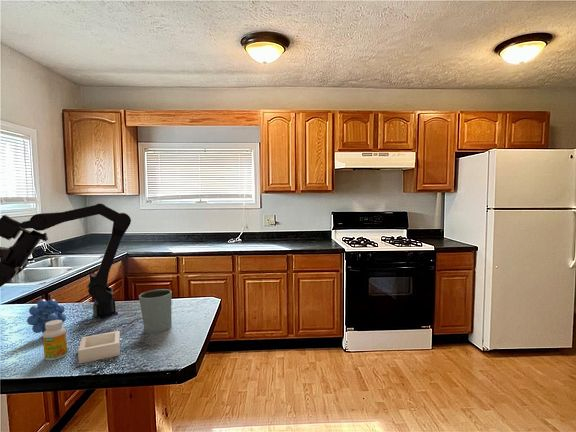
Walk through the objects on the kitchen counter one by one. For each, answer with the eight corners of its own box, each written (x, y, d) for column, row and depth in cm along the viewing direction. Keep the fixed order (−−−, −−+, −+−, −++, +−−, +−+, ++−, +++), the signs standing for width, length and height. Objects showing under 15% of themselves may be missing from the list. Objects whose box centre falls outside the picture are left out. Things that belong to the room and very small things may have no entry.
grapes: (37, 344, 104) (34, 305, 103) (24, 340, 107) (21, 303, 106) (74, 329, 115) (72, 294, 114) (61, 327, 117) (59, 292, 116)
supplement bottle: (42, 362, 92) (40, 327, 91) (46, 354, 97) (43, 321, 96) (66, 357, 94) (64, 323, 94) (68, 350, 99) (66, 317, 99)
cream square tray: (82, 348, 100) (82, 337, 99) (120, 341, 104) (119, 330, 104) (78, 363, 91) (78, 350, 91) (119, 355, 95) (119, 342, 95)
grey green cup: (179, 327, 114) (177, 292, 113) (149, 337, 106) (147, 299, 106) (164, 320, 121) (162, 287, 120) (135, 329, 113) (133, 293, 113)
